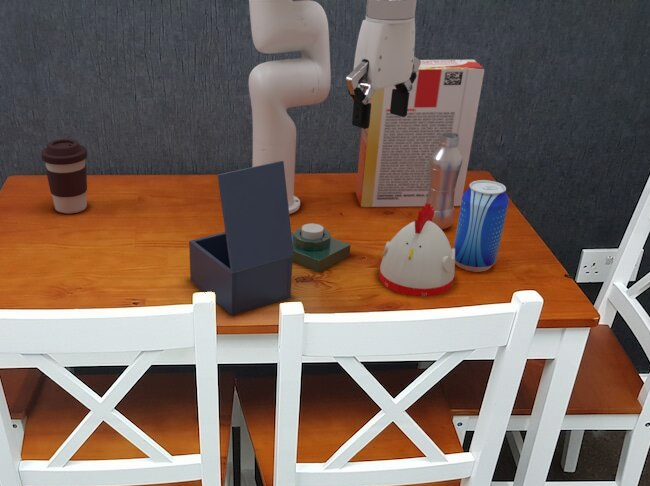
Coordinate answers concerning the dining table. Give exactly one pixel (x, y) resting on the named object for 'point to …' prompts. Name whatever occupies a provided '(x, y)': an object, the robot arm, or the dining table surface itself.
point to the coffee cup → (66, 174)
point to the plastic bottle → (444, 179)
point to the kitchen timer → (419, 259)
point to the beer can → (480, 225)
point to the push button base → (318, 250)
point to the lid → (256, 215)
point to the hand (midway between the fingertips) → (379, 120)
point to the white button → (312, 231)
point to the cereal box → (417, 134)
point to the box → (237, 276)
